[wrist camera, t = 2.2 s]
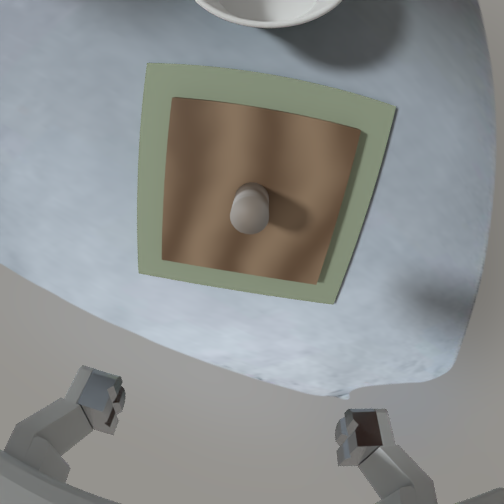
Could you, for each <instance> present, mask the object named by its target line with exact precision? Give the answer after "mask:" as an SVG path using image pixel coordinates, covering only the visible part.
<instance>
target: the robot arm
mask: <svg viewBox="0 0 504 504" xmlns="http://www.w3.org/2000/svg"><path fill="white" fill-rule="evenodd" d="M121 384H122V379H121V377H120V376H117V375H113V374H110V373H106V372H103V371H99V370H97V369H94V368H90V367H87V366H82V367H80V369H79V370H78V372H77V374H76V376H75V378H74V380H73V382H72V384H71V386H70V388H69V390H68V392H67V394H66V396H65V398H64V399H63V398H60V399H58V400H56V401H55V402H53V403H51V404H50V405H48V406H47V407H45V408H43V409H41V410H40V411H38V412H36V413H35V414H33V415H31V416H30V417H28V418H26V419H24V420H23V421H21V422H19V423H18V424H16V426H15V428H14V430H13V433H12V434H11V436H10V438H9V441H8V443H7V445H6V447H5V449H4V451H2V450H0V504H120V503H117V502H114V501H111V500H108V499H105V498H102V497H99V496H97V495H94V494H91V493H88V492H85V491H83V490H80V489H78V488H76V487H73V486H71V485H69V484H66V480H67V477H68V474H69V471H70V467H69V465H68V464H67V463H66V462H65V460H64V459H63V458H62V457H61V456H62V455H63V454H64V453H65V452H67V451H68V450H69V449H70V448H72V447H73V446H74V445H75V444H77V443H78V442H79V441H80V440H82V439H83V438H84V437H85V436H87V435H88V434H89V433H90V432H92V431H93V429H94V430H98V431H101V432H104V433H108V434H111V435H114V432H115V429H116V427H117V424H118V418H117V416H116V415H117V414H119V413H120V412H122V410H123V407H124V403H125V390H124V388H123V387H122V386H121ZM335 438H336V439H335V440H336V442H337V443H338V444H339V446H340V447H339V449H338V450H337V460H338V466H358V467H359V469H360V470H361V472H362V473H363V474H364V476H365V477H366V479H367V480H368V481H369V483H370V484H371V486H372V487H373V488H374V490H375V491H376V493H377V494H378V495H379V497H380V498H381V500H380V501H379V502H377V503H375V504H438V503H437V499H436V493H435V488H434V483H433V480H432V479H431V478H430V477H429V476H428V475H427V474H426V473H425V472H424V471H423V470H422V469H421V468H420V467H419V466H418V465H417V464H416V463H415V461H413V459H412V458H411V457H409V455H408V454H407V453H406V452H405V451H404V450H403V449H402V448H401V447H400V446H399V445H395V440H394V436H393V431H392V427H391V423H390V419H389V414H388V411H387V410H386V409H348V410H347V411H346V412H345V417H344V418H342V419H340V420H339V422H338V423H337V426H336V430H335ZM455 504H504V488H496V489H493V490H491V491H488V492H486V493H483V494H481V495H478V496H475V497H473V498H470V499H467V500H464V501H461V502H458V503H455Z"/></svg>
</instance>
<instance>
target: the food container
mask: <svg viewBox="0 0 504 504" xmlns="http://www.w3.org/2000/svg"><path fill="white" fill-rule="evenodd" d="M195 1H196V2H197V3H198V4H199V5H200V6H201V7H203V8H204V9H205V10H207V11H208V12H210V13H212V14H213V15H215V16H217V17H219V18H222V19H224V20H227V21H229V22H232V23H236V24H239V25H244V26H249V27H257V28H282V27H290V26H295V25H300V24H303V23H306V22H310V21H312V20H315V19H317V18H319V17H321V16H323V15H325V14H326V13H328V12H329V11H331V10H332V9H334V8H335V7H336V6H337V5H338V4H339V3H340V2H341V1H342V0H195Z"/></svg>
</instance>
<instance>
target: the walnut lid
mask: <svg viewBox="0 0 504 504" xmlns="http://www.w3.org/2000/svg"><path fill="white" fill-rule="evenodd" d="M360 133H361V130H360V129H358V128H354V127H350V126H347V125H343V124H339V123H335V122H331V121H326V120H322V119H318V118H313V117H309V116H304V115H299V114H294V113H289V112H284V111H279V110H273V109H268V108H262V107H256V106H249V105H243V104H236V103H229V102H221V101H212V100H203V99H193V98H182V97H172V102H171V111H170V120H169V130H168V141H167V152H166V165H165V180H164V198H163V221H162V260H166V261H171V262H177V263H183V264H189V265H195V266H200V267H206V268H212V269H218V270H224V271H231V272H237V273H243V274H249V275H255V276H262V277H268V278H274V279H281V280H287V281H294V282H300V283H307V284H314V285H316V284H317V281H318V278H319V275H320V272H321V269H322V266H323V263H324V260H325V257H326V254H327V251H328V247H329V244H330V241H331V238H332V235H333V231H334V228H335V225H336V221H337V218H338V215H339V211H340V208H341V204H342V201H343V197H344V194H345V190H346V187H347V183H348V179H349V176H350V172H351V168H352V165H353V161H354V157H355V153H356V149H357V145H358V141H359V137H360Z"/></svg>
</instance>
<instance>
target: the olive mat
mask: <svg viewBox="0 0 504 504" xmlns="http://www.w3.org/2000/svg"><path fill="white" fill-rule="evenodd" d="M172 97H182V98H193V99H203V100H212V101H221V102H229V103H236V104H243V105H249V106H256V107H262V108H268V109H273V110H279V111H284V112H289V113H294V114H299V115H304V116H309V117H313V118H318V119H322V120H326V121H331V122H335V123H339V124H343V125H347V126H350V127H354V128H358V129H360V130H361V133H360V137H359V141H358V145H357V149H356V153H355V157H354V161H353V165H352V168H351V172H350V176H349V179H348V183H347V187H346V190H345V194H344V197H343V201H342V204H341V208H340V211H339V215H338V218H337V221H336V225H335V228H334V231H333V235H332V238H331V241H330V244H329V247H328V251H327V254H326V257H325V260H324V263H323V266H322V269H321V272H320V275H319V278H318V281H317V284H316V285H314V284H307V283H300V282H294V281H287V280H281V279H274V278H268V277H262V276H255V275H249V274H243V273H237V272H231V271H224V270H218V269H212V268H206V267H200V266H195V265H189V264H183V263H177V262H171V261H166V260H162V221H163V198H164V180H165V165H166V152H167V141H168V130H169V120H170V111H171V102H172ZM395 109H396V106H393V105H390V104H387V103H384V102H381V101H378V100H374V99H371V98H368V97H365V96H361V95H358V94H354V93H351V92H347V91H343V90H340V89H336V88H332V87H328V86H324V85H319V84H315V83H311V82H306V81H302V80H297V79H292V78H287V77H281V76H276V75H270V74H264V73H258V72H251V71H244V70H237V69H229V68H220V67H210V66H199V65H185V64H164V63H147V68H146V76H145V84H144V94H143V103H142V114H141V127H140V142H139V160H138V191H137V239H138V270H139V273H140V274H146V275H151V276H156V277H162V278H167V279H173V280H178V281H184V282H189V283H195V284H201V285H207V286H213V287H219V288H225V289H231V290H237V291H243V292H250V293H256V294H263V295H269V296H276V297H283V298H290V299H297V300H304V301H311V302H318V303H326V304H334V301H335V299H336V296H337V294H338V291H339V289H340V286H341V283H342V281H343V278H344V275H345V273H346V270H347V267H348V265H349V262H350V259H351V256H352V253H353V251H354V248H355V245H356V242H357V239H358V236H359V233H360V230H361V227H362V224H363V221H364V218H365V215H366V212H367V209H368V206H369V203H370V200H371V196H372V193H373V190H374V187H375V183H376V180H377V177H378V173H379V170H380V166H381V163H382V159H383V155H384V152H385V148H386V144H387V141H388V137H389V133H390V129H391V125H392V121H393V117H394V113H395Z"/></svg>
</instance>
